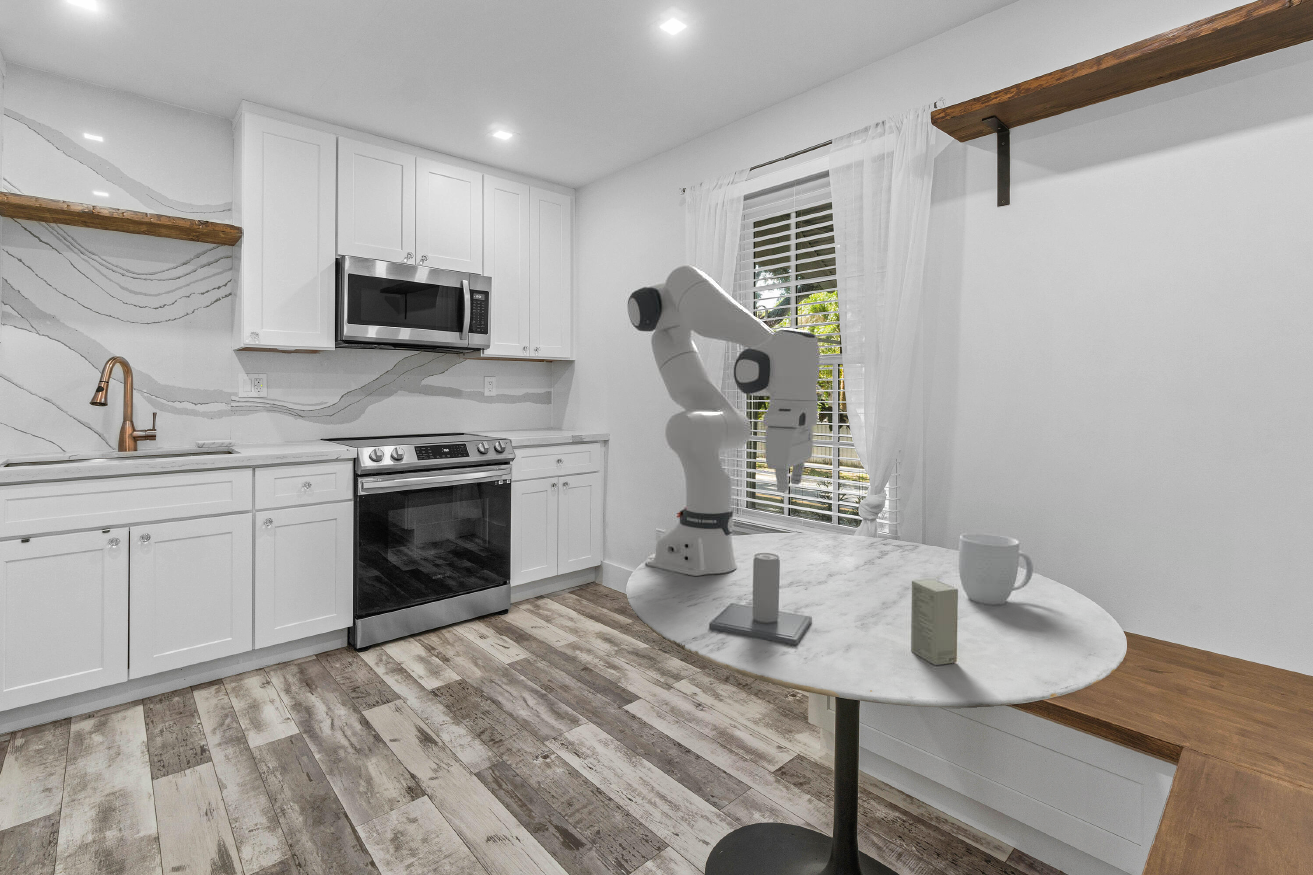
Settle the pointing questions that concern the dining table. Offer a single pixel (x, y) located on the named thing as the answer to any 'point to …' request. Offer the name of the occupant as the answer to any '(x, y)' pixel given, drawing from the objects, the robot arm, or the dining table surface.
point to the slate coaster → (761, 624)
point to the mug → (991, 567)
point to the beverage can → (766, 587)
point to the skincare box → (934, 621)
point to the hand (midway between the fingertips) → (789, 487)
